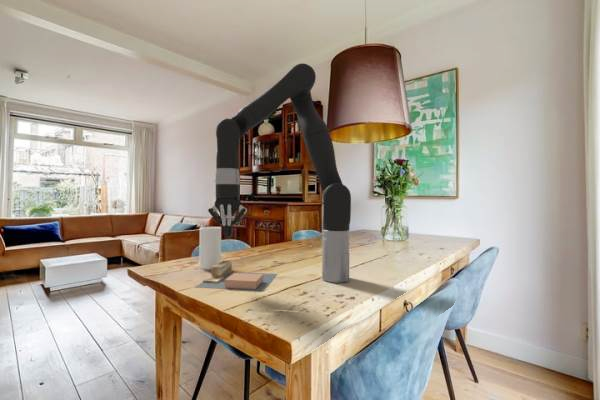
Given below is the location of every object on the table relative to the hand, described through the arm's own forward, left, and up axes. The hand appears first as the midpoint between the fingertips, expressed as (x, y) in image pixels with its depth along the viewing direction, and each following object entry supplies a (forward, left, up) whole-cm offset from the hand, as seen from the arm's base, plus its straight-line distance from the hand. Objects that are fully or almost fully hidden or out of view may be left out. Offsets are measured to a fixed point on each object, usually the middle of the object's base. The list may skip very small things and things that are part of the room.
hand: (228, 237), depth 90 cm
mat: (-2, -5, -15) cm, 16 cm away
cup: (+16, -20, -16) cm, 30 cm away
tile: (-1, 0, -14) cm, 14 cm away
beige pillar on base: (+6, -8, -15) cm, 18 cm away
